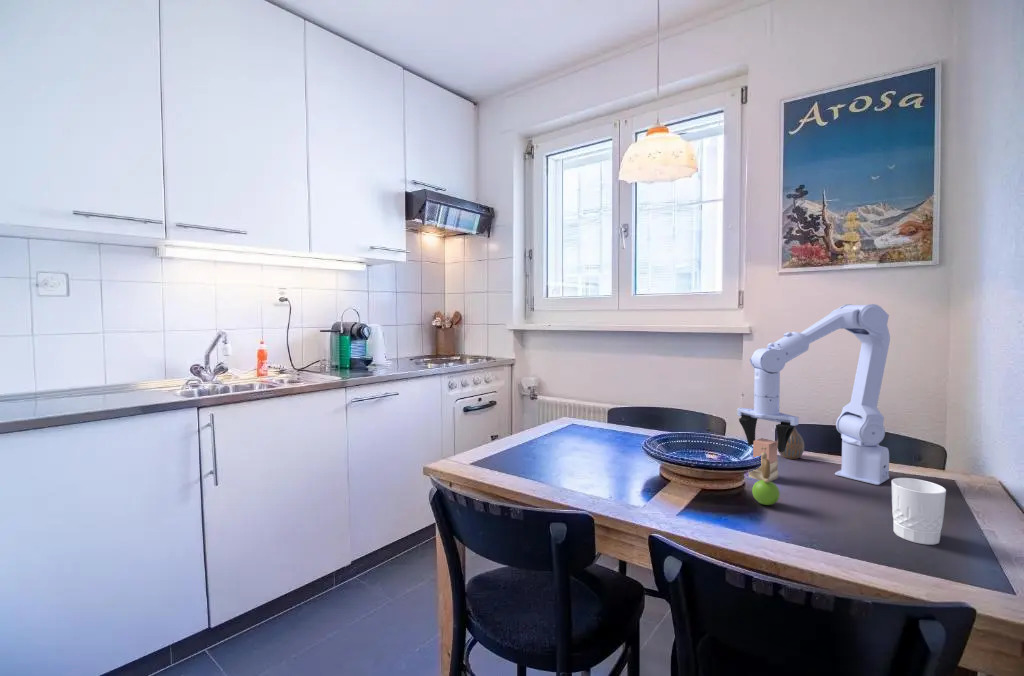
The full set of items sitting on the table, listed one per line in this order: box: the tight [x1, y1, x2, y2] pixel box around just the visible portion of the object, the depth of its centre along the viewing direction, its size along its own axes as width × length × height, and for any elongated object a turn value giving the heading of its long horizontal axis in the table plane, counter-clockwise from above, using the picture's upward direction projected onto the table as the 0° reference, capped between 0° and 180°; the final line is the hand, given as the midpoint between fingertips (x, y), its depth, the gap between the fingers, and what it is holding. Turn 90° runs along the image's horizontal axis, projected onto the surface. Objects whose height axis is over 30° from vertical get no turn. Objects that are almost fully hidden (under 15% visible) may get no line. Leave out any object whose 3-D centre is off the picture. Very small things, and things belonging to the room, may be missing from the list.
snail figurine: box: [751, 447, 780, 506], centre depth 107 cm, size 5×6×12 cm
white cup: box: [891, 477, 947, 546], centre depth 91 cm, size 8×8×10 cm
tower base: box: [748, 469, 779, 482], centre depth 123 cm, size 5×5×2 cm
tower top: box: [753, 459, 779, 474], centre depth 123 cm, size 5×5×2 cm
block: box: [752, 437, 778, 463], centre depth 123 cm, size 4×4×5 cm
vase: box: [776, 427, 805, 460], centre depth 139 cm, size 7×7×9 cm
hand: (766, 447), depth 123 cm, fingers open, 7 cm apart
